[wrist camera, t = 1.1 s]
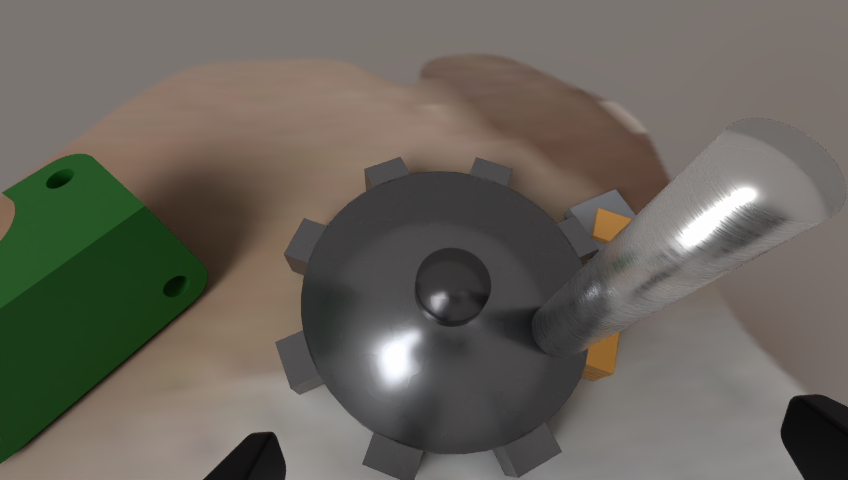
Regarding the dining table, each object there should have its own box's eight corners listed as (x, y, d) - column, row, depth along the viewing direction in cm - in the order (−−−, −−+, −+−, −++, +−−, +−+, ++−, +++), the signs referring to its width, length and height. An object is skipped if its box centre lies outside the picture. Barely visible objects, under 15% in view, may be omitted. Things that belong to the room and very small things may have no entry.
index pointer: (652, 253, 24) (663, 245, 23) (606, 276, 23) (615, 267, 22) (608, 196, 25) (617, 186, 24) (564, 215, 24) (571, 205, 23)
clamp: (164, 280, 25) (124, 136, 20) (220, 339, 23) (191, 191, 17) (-147, 413, 17) (-351, 231, 12) (-116, 528, 15) (-361, 361, 9)
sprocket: (662, 384, 20) (1105, 267, 8) (356, 561, 16) (259, 900, 4) (500, 143, 26) (606, -148, 13) (244, 233, 22) (59, -59, 10)
